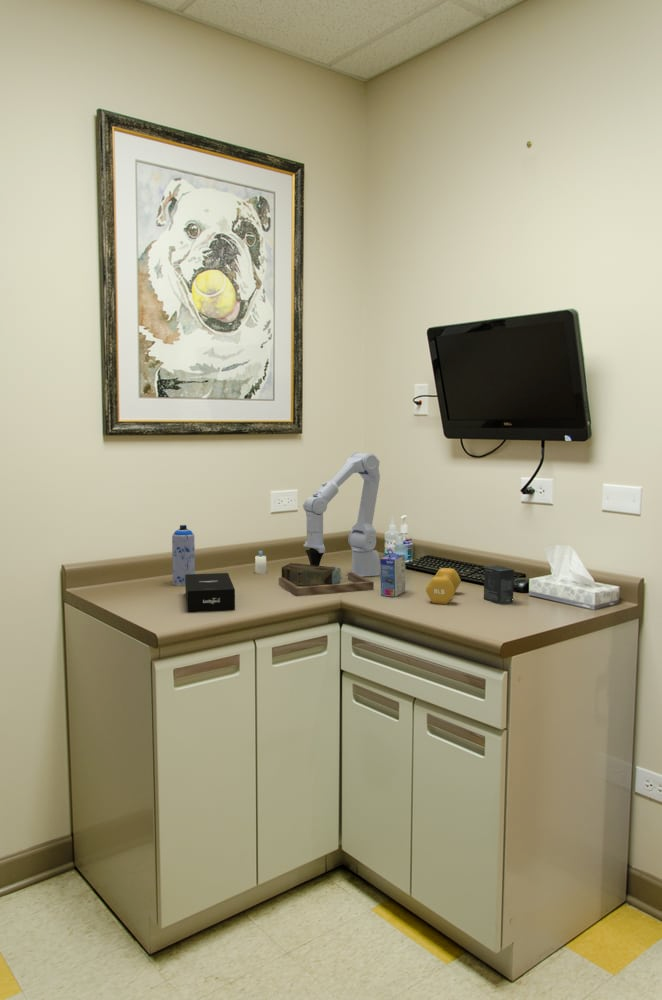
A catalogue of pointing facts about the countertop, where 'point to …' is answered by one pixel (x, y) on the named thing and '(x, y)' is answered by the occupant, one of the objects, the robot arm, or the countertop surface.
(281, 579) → the display bay
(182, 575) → the aerosol can
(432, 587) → the dumbbell
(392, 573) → the ink cartridge box
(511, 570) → the box
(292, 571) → the beverage carton
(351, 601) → the countertop surface
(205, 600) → the box
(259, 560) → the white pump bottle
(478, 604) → the countertop surface
